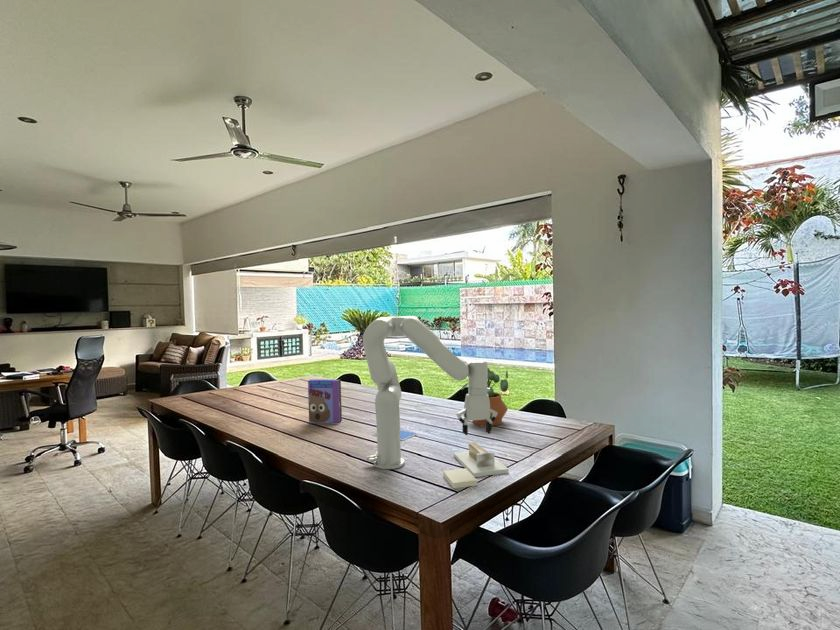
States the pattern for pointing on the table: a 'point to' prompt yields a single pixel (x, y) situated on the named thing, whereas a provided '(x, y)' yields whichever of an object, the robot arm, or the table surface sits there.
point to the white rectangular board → (479, 471)
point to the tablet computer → (404, 435)
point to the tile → (460, 478)
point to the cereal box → (324, 401)
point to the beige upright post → (481, 455)
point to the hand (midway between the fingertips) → (476, 433)
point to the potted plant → (494, 398)
